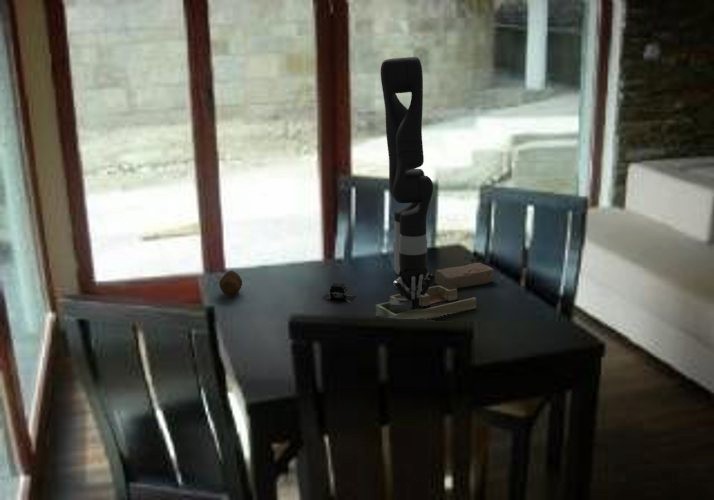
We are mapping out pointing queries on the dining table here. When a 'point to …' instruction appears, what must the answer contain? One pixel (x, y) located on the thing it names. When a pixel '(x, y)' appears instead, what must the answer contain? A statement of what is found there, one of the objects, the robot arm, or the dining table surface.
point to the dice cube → (400, 305)
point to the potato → (230, 283)
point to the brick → (464, 276)
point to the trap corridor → (428, 298)
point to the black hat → (338, 297)
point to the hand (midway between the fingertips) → (413, 310)
